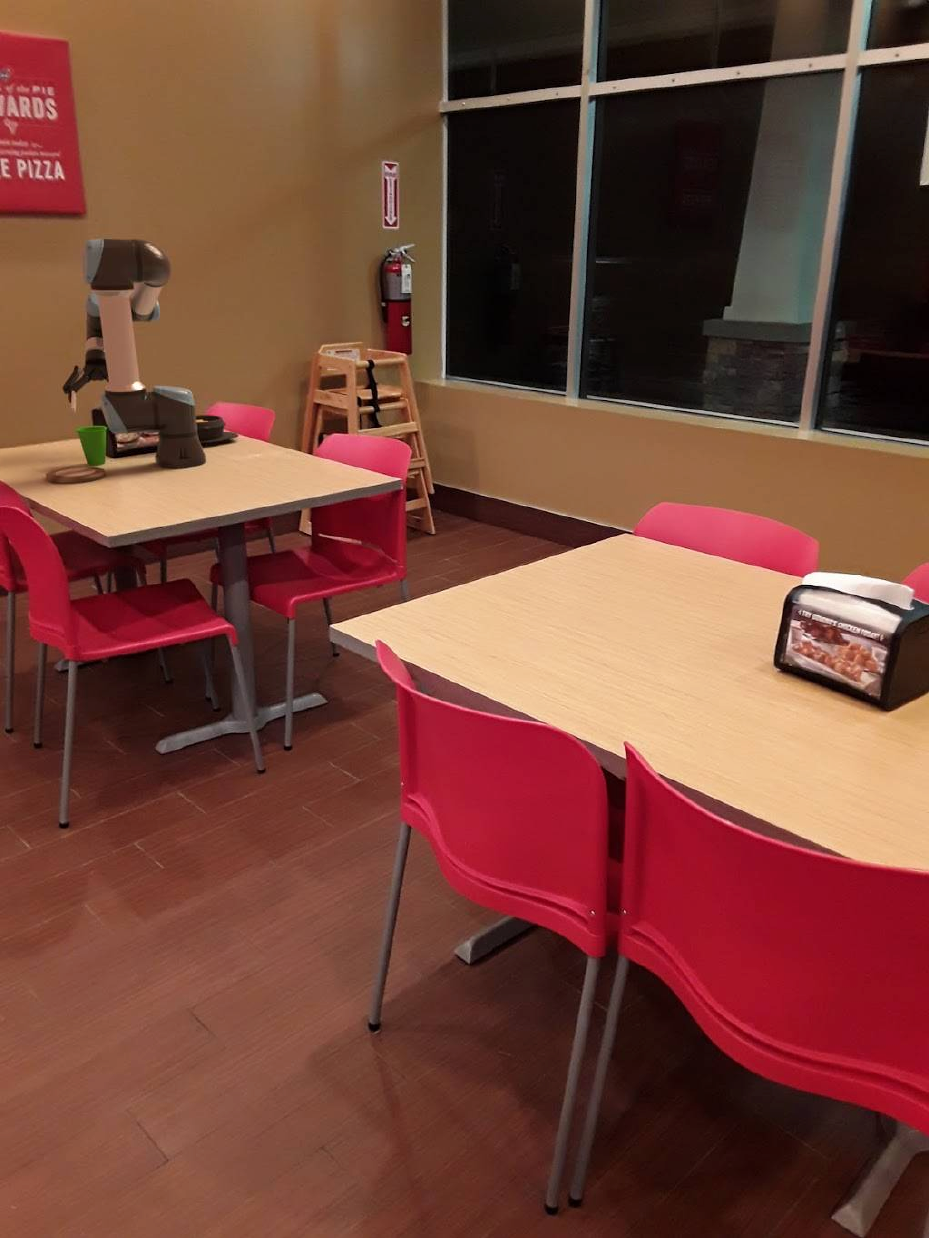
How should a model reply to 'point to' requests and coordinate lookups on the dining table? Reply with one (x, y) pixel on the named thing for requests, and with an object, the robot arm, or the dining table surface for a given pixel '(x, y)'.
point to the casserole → (212, 430)
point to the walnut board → (75, 475)
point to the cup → (93, 444)
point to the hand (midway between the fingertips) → (96, 410)
